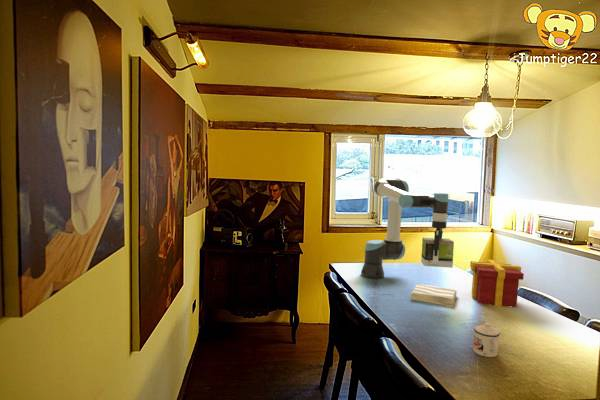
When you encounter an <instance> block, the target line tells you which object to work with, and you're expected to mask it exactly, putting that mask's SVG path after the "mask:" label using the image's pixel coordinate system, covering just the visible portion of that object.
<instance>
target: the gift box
mask: <svg viewBox="0 0 600 400" xmlns="http://www.w3.org/2000/svg"><path fill="white" fill-rule="evenodd" d="M469 266H470V271H471V272H472V284H471V285H472V286H471V298H472V300H476V302H477V301H478V302H477V303H478V304H479V303H481V305H489V304H491V306H495V307H499V306H502V307H508V306H512V307H511V308H517V307H518V306H517V305H518V296H519V293H518V292H519V284H520V280H521V281H523V280H524V273H523V272H522V266H520V265H512V264H509V263H506V264H505V263H498V262H496V261H495V260H493V259H487V260H486V262H485V261H483V262H482V261H472V260H470V265H469Z"/></svg>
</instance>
